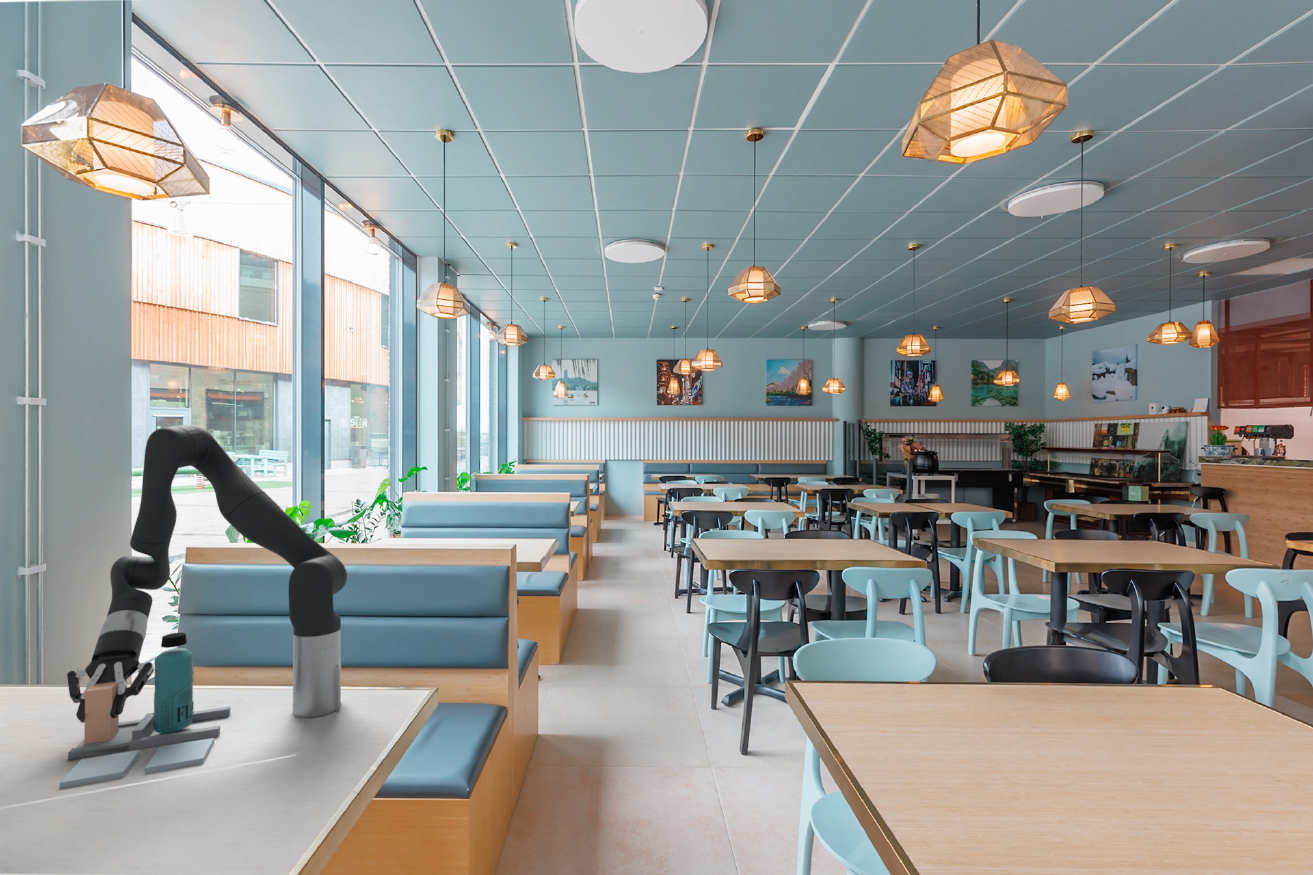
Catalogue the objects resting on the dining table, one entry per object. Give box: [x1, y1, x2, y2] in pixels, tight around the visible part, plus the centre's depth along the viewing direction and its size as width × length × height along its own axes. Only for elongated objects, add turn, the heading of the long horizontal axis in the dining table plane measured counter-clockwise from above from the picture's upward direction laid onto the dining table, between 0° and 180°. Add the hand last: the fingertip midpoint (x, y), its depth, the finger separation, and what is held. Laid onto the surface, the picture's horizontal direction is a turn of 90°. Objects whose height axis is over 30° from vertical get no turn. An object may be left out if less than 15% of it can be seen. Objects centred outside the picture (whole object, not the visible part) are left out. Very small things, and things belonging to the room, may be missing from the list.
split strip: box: [59, 737, 215, 789], centre depth 114 cm, size 20×9×1 cm, turn 115°
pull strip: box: [67, 682, 231, 761], centre depth 126 cm, size 23×12×11 cm, turn 115°
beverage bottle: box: [152, 632, 195, 734], centre depth 127 cm, size 6×7×20 cm
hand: (98, 718), depth 121 cm, fingers closed on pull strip, 4 cm apart
